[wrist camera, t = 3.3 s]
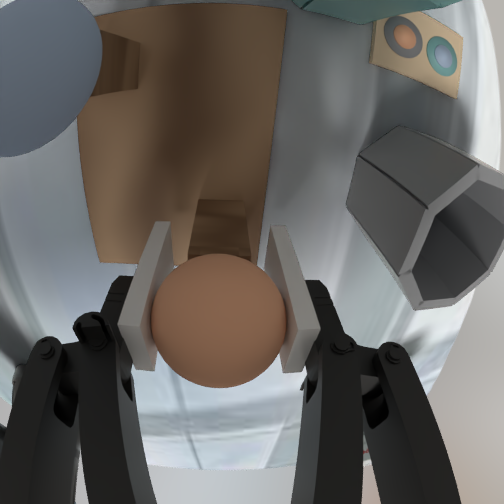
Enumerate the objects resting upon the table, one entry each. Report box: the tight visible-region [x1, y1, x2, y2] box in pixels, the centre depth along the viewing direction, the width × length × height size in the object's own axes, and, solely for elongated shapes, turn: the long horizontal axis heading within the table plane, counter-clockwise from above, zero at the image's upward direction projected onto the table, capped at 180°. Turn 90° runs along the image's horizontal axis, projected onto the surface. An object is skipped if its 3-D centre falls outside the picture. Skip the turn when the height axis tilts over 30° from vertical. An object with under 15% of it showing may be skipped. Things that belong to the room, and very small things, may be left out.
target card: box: [369, 11, 463, 99], centre depth 10 cm, size 7×5×1 cm
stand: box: [77, 3, 287, 266], centre depth 11 cm, size 11×16×6 cm
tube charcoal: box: [346, 126, 504, 311], centre depth 14 cm, size 8×8×7 cm
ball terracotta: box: [151, 254, 287, 388], centre depth 10 cm, size 5×5×5 cm
